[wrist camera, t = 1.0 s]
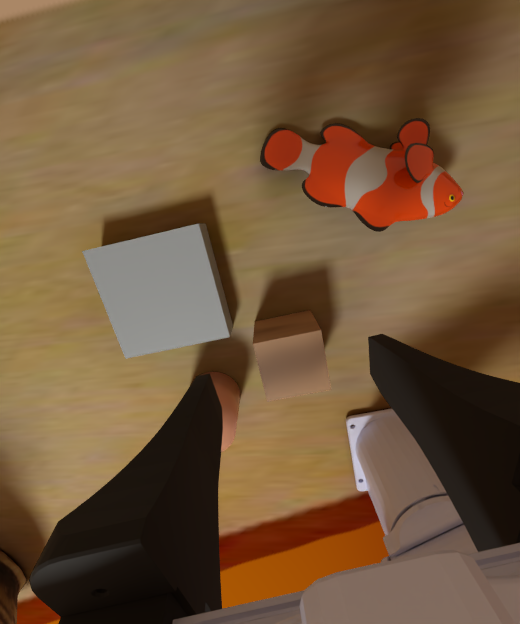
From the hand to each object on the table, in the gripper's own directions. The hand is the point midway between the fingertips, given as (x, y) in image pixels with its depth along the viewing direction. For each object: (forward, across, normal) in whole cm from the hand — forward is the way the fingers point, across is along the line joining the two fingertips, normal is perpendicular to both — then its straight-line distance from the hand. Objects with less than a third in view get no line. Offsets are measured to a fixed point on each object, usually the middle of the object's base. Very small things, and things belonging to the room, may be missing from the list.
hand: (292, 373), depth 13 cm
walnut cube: (+12, -1, +6) cm, 13 cm away
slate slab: (+14, +8, -1) cm, 16 cm away
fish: (+14, -9, -7) cm, 18 cm away
